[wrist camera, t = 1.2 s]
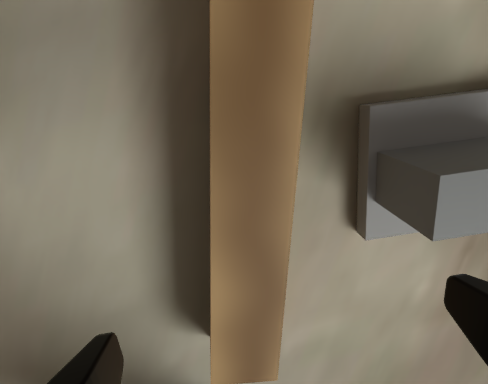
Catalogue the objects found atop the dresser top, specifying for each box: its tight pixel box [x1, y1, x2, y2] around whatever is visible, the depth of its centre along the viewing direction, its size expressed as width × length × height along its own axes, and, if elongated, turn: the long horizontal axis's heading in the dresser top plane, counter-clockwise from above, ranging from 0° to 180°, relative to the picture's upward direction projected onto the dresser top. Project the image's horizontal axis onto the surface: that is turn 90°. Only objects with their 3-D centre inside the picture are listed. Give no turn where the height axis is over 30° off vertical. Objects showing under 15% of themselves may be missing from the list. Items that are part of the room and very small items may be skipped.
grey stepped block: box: [357, 89, 488, 241], centre depth 16 cm, size 9×8×6 cm
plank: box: [209, 0, 314, 384], centre depth 16 cm, size 4×22×4 cm, turn 178°
